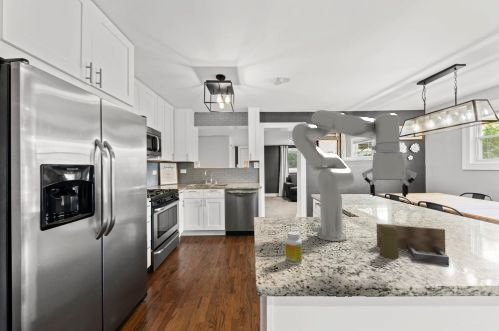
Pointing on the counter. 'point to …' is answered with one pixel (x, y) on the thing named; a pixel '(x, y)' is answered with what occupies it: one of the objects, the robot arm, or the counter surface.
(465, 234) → the counter surface
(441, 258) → the cleat board
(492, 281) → the counter surface
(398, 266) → the counter surface
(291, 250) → the supplement bottle
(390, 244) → the olive tall block
